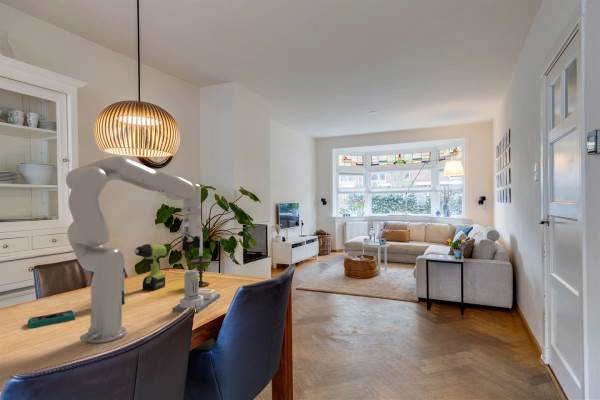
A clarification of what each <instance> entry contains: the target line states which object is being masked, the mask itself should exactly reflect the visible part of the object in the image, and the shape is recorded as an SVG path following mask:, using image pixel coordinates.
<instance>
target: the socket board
mask: <svg viewBox="0 0 600 400" xmlns="http://www.w3.org/2000/svg"><path fill="white" fill-rule="evenodd" d="M220 298H221V293H217V289H208V288H199V299H196V300H184V296H181V297H180V298H179V304H177V305H175V306H173V307H172V312H175V313H176V312H178V313H184V312H183V311H184V310H186V309H187V308H188V307H191V306H194V307H195V309H196V313H195V314H198V313H200V312H202V311H203V310H204V309H206V308H207V307H209V306H210V305H211V304H212V303H214V302H215V301H217V300H218V299H220Z"/></svg>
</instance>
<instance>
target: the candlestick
mask: <svg viewBox="0 0 600 400" xmlns="http://www.w3.org/2000/svg"><path fill="white" fill-rule="evenodd" d="M200 237H201V239H200V248H198V255H197V257H198V258H195V259H191V260H190V263H191V264H196V265H199V271H197V273H198V274H199V288H206V287H208V286H210V282H208V281H203V277H204V276H203V274H204V271H203V265H204V264H208V263H211V262H212V261H211V258H203V257H204V256H205V254H204V255H203V246H204V245H203V243H204V242H203V231H202V234H201V236H200Z"/></svg>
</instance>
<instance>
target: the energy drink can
mask: <svg viewBox="0 0 600 400" xmlns="http://www.w3.org/2000/svg"><path fill="white" fill-rule="evenodd" d="M199 281H200V277H199V273H198V270H196V269H190V270H185V273H184V300H196V299H199V289H200V287H199Z"/></svg>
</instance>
